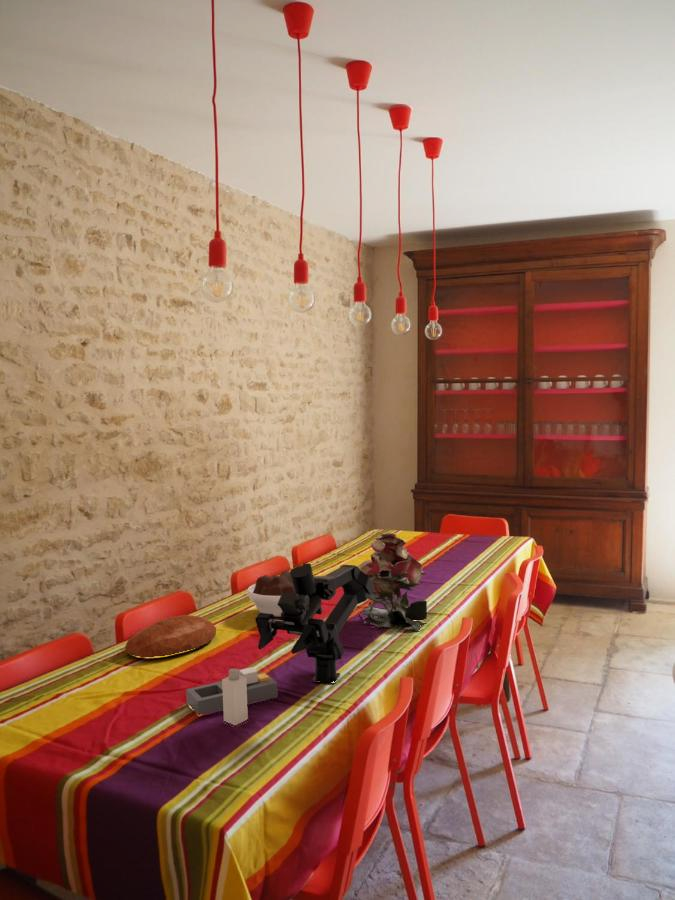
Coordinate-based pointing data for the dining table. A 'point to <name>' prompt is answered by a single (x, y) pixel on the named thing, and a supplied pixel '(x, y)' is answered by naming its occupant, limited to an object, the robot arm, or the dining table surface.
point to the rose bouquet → (393, 583)
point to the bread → (171, 636)
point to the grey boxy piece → (212, 694)
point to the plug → (234, 698)
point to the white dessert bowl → (270, 592)
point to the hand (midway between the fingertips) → (275, 650)
